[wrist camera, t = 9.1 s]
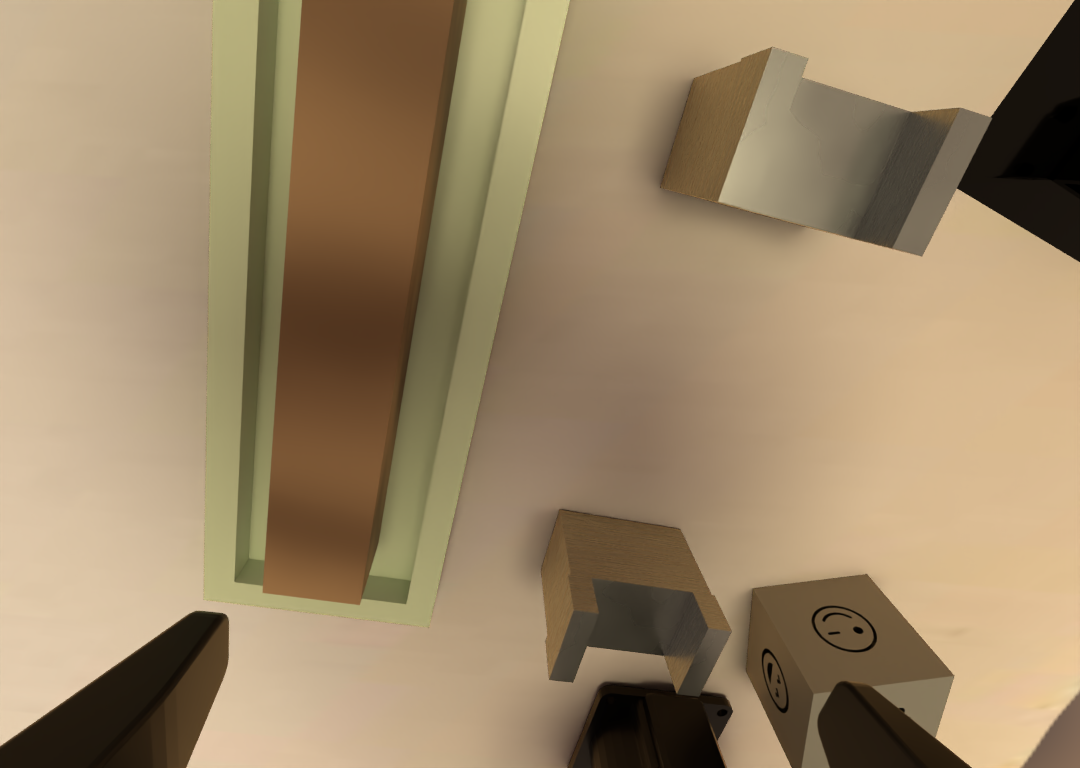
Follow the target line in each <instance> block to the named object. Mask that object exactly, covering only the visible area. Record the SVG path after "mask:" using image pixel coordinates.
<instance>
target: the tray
mask: <svg viewBox="0 0 1080 768" xmlns="http://www.w3.org/2000/svg"><path fill="white" fill-rule="evenodd" d="M569 3H570V0H467V6H466V12H465V18H464V24H463V30H462V36H461V42H460V48H459V55H458V61H457V67H456V73H455V79H454V85H453V91H452V97H451V103H450V110H449V116H448V122H447V128H446V134H445V140H444V146H443V152H442V158H441V165H440V171H439V177H438V183H437V189H436V195H435V201H434V207H433V213H432V219H431V226H430V232H429V238H428V244H427V250H426V256H425V262H424V268H423V274H422V281H421V287H420V293H419V299H418V305H417V311H416V317H415V323H414V329H413V336H412V342H411V348H410V354H409V360H408V366H407V372H406V378H405V384H404V390H403V397H402V403H401V409H400V415H399V421H398V427H397V433H396V439H395V445H394V452H393V458H392V464H391V470H390V476H389V482H388V488H387V494H386V500H385V507H384V513H383V519H382V525H381V531H380V537H379V543H378V547H377V550H376V553H375V557H374V560H373V563H372V566H371V570H370V573H369V576H368V580H367V583H366V586H365V589H364V593H363V596H362V599H361V603H360V605H354V604H346V603H338V602H330V601H322V600H315V599H307V598H299V597H291V596H283V595H275V594H267V593H262V592H263V577H264V562H265V547H266V532H267V517H268V502H269V487H270V472H271V457H272V442H273V427H274V412H275V397H276V382H277V367H278V352H279V337H280V322H281V307H282V292H283V277H284V262H285V247H286V232H287V217H288V202H289V187H290V172H291V157H292V142H293V127H294V112H295V97H296V82H297V67H298V52H299V37H300V22H301V7H302V0H213V13H212V79H211V144H210V210H209V276H208V342H207V407H206V473H205V539H204V600H208V601H217V602H225V603H233V604H241V605H249V606H257V607H265V608H273V609H282V610H290V611H298V612H306V613H314V614H322V615H330V616H338V617H347V618H355V619H363V620H371V621H379V622H387V623H395V624H403V625H412V626H420V627H428V628H429V626H430V621H431V617H432V612H433V608H434V603H435V599H436V594H437V590H438V586H439V581H440V577H441V572H442V568H443V563H444V559H445V554H446V550H447V546H448V541H449V537H450V532H451V528H452V523H453V519H454V514H455V510H456V505H457V501H458V497H459V492H460V488H461V483H462V479H463V474H464V470H465V465H466V461H467V456H468V452H469V448H470V443H471V439H472V434H473V430H474V425H475V421H476V416H477V412H478V408H479V403H480V399H481V394H482V390H483V385H484V381H485V376H486V372H487V367H488V363H489V359H490V354H491V350H492V345H493V341H494V336H495V332H496V327H497V323H498V319H499V314H500V310H501V305H502V301H503V296H504V292H505V287H506V283H507V278H508V274H509V270H510V265H511V261H512V256H513V252H514V247H515V243H516V238H517V234H518V229H519V225H520V221H521V216H522V212H523V207H524V203H525V198H526V194H527V189H528V185H529V181H530V176H531V172H532V167H533V163H534V158H535V154H536V149H537V145H538V140H539V136H540V132H541V127H542V123H543V118H544V114H545V109H546V105H547V100H548V96H549V92H550V87H551V83H552V78H553V74H554V69H555V65H556V60H557V56H558V51H559V47H560V43H561V38H562V34H563V29H564V25H565V20H566V16H567V11H568V7H569Z"/></svg>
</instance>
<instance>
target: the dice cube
mask: <svg viewBox="0 0 1080 768" xmlns="http://www.w3.org/2000/svg"><path fill="white" fill-rule="evenodd" d="M746 672H747V674H748V676H749V678H750V680H751V682H752V684H753V687H754V689H755V691H756V693H757V695H758V697H759V699H760V701H761V704H762V706H763V708H764V710H765V712H766V714H767V716H768V718H769V720H770V723H771V725H772V727H773V729H774V731H775V733H776V735H777V737H778V740H779V742H780V744H781V746H782V748H783V750H784V752H785V754H786V756H787V759H788V761H789V763H790V765H791V767H792V768H830V767H829V764H828V761H827V758H826V755H825V752H824V749H823V746H822V743H821V740H820V737H819V733H818V728H817V719H818V715H819V713H820V711H821V709H822V707H823V706H824V704H825V702H826V700H827V699H828V697H829V695H830V693H831V692H832V690H833V688H834V686H835V685H836V684H837V683H838V682H840V681H843V680H846V681H855V682H863V683H866V684H868V685H870V686H872V687H873V688H874V689H875V690H877V691H878V692H879V693H880V694H882V695H883V696H884V697H885V698H886V699H888V700H889V701H890V702H891V703H893V704H894V705H895V706H896V707H898V708H899V709H900V710H901V711H902V712H904V713H905V714H906V715H907V716H909V717H910V718H911V719H912V720H914V721H915V722H916V723H917V724H918V725H920V726H921V727H922V728H923V729H925V730H926V731H927V732H928V733H930V734H931V735H932V736H933V737H934V738H935V737H936V734H937V731H938V727H939V724H940V721H941V718H942V714H943V711H944V708H945V705H946V702H947V698H948V695H949V692H950V689H951V685H952V682H953V679H954V675H953V674H952V672H951V671H950V670H949V669H948V668H947V667H946V665H945V664H944V663H943V662H942V661H941V660H940V659H939V657H938V656H937V655H936V654H935V653H934V652H933V650H932V649H931V648H930V647H929V646H928V645H927V643H926V642H925V641H924V640H923V639H922V638H921V636H920V635H919V634H918V633H917V632H916V631H915V630H914V628H913V627H912V626H911V625H910V624H909V623H908V621H907V620H906V619H905V618H904V617H903V616H902V614H901V613H900V612H899V611H898V610H897V609H896V607H895V606H894V605H893V604H892V603H891V602H890V601H889V599H888V598H887V597H886V596H885V595H884V594H883V592H882V591H881V590H880V589H879V588H878V587H877V585H876V584H875V583H874V582H873V581H872V580H871V578H870V577H869V576H868V575H867V574H865V575H857V576H849V577H840V578H832V579H824V580H816V581H808V582H800V583H792V584H784V585H776V586H768V587H760V588H753V592H752V604H751V616H750V627H749V639H748V650H747V662H746Z"/></svg>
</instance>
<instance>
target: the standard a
mask: <svg viewBox="0 0 1080 768" xmlns="http://www.w3.org/2000/svg"><path fill="white" fill-rule="evenodd" d="M541 575H542V585H543V595H544V605H545V615H546V625H547V638H546V641H545V642H546V653H547V663H548V674H549V680H554V681H563V682H572V683H573V681H574V679H575V676H576V673H577V671H578V668H579V665H580V663H581V660H582V658H583V655H584V652H585V650H586V647H587V646H589V647H597V648H605V649H613V650H621V651H630V652H638V653H646V654H654V655H662V656H664V657H665V660H666V663H667V666H668V669H669V672H670V675H671V678H672V682H673V685H674V688H675V691H676V694H680V695H689V696H698V697H699V695H700V693H701V691H702V689H703V687H704V685H705V683H706V681H707V679H708V677H709V676H710V674H711V672H712V670H713V668H714V666H715V664H716V662H717V660H718V658H719V656H720V654H721V652H722V650H723V648H724V646H725V644H726V642H727V640H728V638H729V636H730V634H731V632H732V631H731V628H730V626H729V624H728V622H727V620H726V618H725V616H724V614H723V612H722V610H721V608H720V606H719V604H718V602H717V600H716V598H715V596H714V595H712V594H711V592H710V590H709V588H708V586H707V584H706V582H705V580H704V578H703V576H702V574H701V571H700V569H699V567H698V565H697V563H696V561H695V559H694V557H693V555H692V553H691V551H690V548H689V546H688V544H687V542H686V540H685V538H684V536H683V534H682V532H681V530H680V529H675V528H669V527H663V526H657V525H651V524H645V523H639V522H633V521H626V520H620V519H614V518H608V517H602V516H596V515H590V514H584V513H578V512H571V511H565V510H559V513H558V517H557V520H556V523H555V526H554V529H553V533H552V536H551V539H550V542H549V546H548V549H547V552H546V555H545V558H544V562H543V565H542V568H541Z"/></svg>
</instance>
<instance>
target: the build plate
mask: <svg viewBox="0 0 1080 768" xmlns="http://www.w3.org/2000/svg"><path fill="white" fill-rule="evenodd" d="M991 118H992V120H991V122H990V124H989V125H988V127H987V129H986V131H985V133H984V135H983V137H982V139H981V141H980V143H979V145H978V147H977V149H976V151H975V153H974V155H973V157H972V159H971V161H970V163H969V165H968V167H967V169H966V171H965V173H964V175H963V177H962V179H961V181H960V183H959V185H958V187H957V189H959V190H961V191H962V192H964V193H966V194H967V195H969V196H971V197H972V198H974V199H976V200H977V201H979V202H981V203H982V204H984V205H986V206H987V207H989V208H991V209H992V210H994V211H996V212H997V213H999V214H1001V215H1002V216H1004V217H1006V218H1007V219H1009V220H1011V221H1012V222H1014V223H1016V224H1017V225H1019V226H1021V227H1022V228H1024V229H1026V230H1027V231H1029V232H1031V233H1032V234H1034V235H1036V236H1037V237H1039V238H1041V239H1042V240H1044V241H1046V242H1047V243H1049V244H1051V245H1052V246H1054V247H1056V248H1057V249H1059V250H1061V251H1062V252H1064V253H1066V254H1067V255H1069V256H1071V257H1072V258H1074V259H1076V260H1077V261H1079V262H1080V0H1075V1H1074V2H1073V3H1072V5H1071V6H1070V7H1069V9H1068V10H1067V12H1066V13H1065V14H1064V16H1063V17H1062V19H1061V20H1060V21H1059V23H1058V24H1057V26H1056V27H1055V28H1054V30H1053V31H1052V33H1051V34H1050V35H1049V37H1048V38H1047V40H1046V41H1045V42H1044V44H1043V45H1042V47H1041V48H1040V49H1039V51H1038V52H1037V54H1036V55H1035V56H1034V58H1033V59H1032V61H1031V62H1030V63H1029V65H1028V66H1027V67H1026V69H1025V70H1024V72H1023V73H1022V74H1021V76H1020V77H1019V79H1018V80H1017V81H1016V83H1015V84H1014V86H1013V87H1012V88H1011V90H1010V91H1009V93H1008V94H1007V95H1006V97H1005V98H1004V100H1003V101H1002V102H1001V104H1000V105H999V107H998V108H997V109H996V111H995V112H994V114H993V115H992V116H991Z"/></svg>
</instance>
